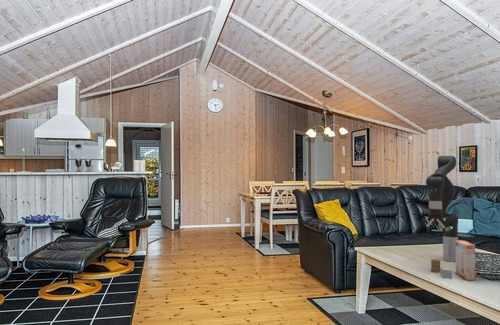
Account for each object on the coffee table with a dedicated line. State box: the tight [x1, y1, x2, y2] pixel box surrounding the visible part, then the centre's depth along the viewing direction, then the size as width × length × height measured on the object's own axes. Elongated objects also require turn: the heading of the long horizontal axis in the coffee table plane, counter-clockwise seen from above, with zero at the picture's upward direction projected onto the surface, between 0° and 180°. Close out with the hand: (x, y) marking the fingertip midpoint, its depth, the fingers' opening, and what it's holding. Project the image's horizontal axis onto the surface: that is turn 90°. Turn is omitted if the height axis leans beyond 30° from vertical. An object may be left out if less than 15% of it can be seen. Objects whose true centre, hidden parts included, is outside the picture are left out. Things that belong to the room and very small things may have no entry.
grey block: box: [440, 267, 453, 280], centre depth 215 cm, size 5×5×5 cm
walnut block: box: [430, 259, 441, 274], centre depth 227 cm, size 5×5×7 cm
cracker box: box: [455, 239, 476, 281], centre depth 215 cm, size 14×6×21 cm, turn 170°
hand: (435, 233), depth 227 cm, fingers open, 8 cm apart
